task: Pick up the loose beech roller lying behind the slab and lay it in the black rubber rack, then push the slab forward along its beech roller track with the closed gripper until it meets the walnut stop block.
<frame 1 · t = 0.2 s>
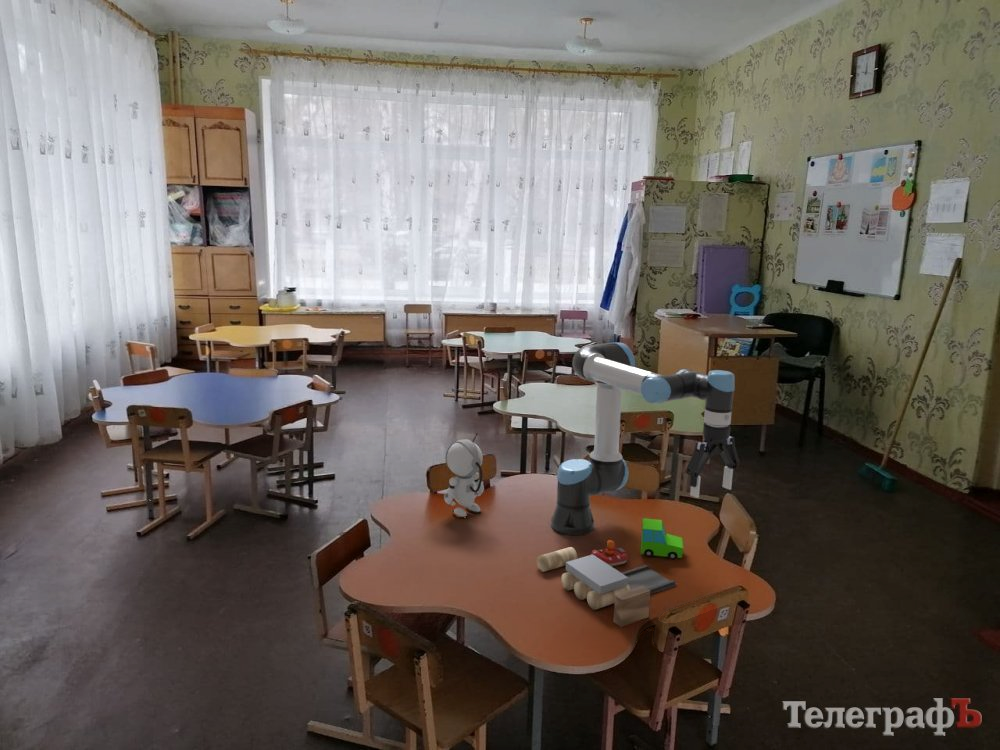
hand: (710, 492, 211), 28 cm above the table, fingers open, 13 cm apart
track: (631, 619, 193), on the table
slab: (596, 573, 205), point 6 cm above the table, slide at 0.0 cm
robot: (466, 513, 260), on the table
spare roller: (556, 566, 222), on the table
toy boat: (608, 563, 225), on the table
toy car: (661, 554, 232), on the table
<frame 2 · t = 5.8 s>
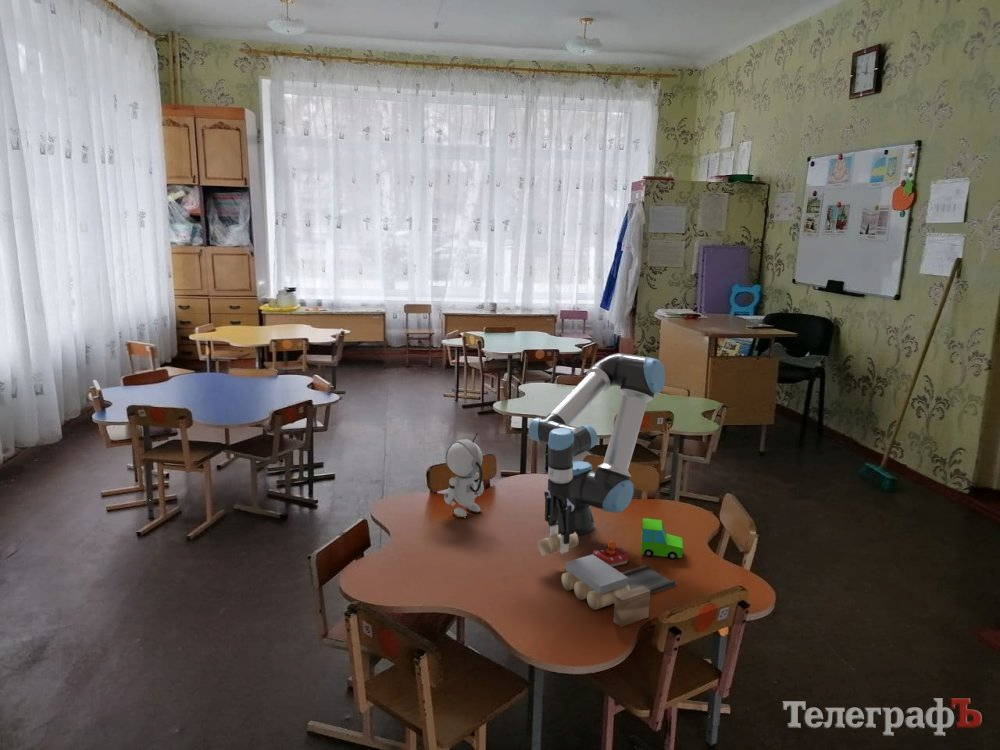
hand: (559, 548, 221), 6 cm above the table, fingers closed on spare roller, 5 cm apart
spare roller: (558, 550, 221), point 5 cm above the table, touching gripper
everything else where it was.
when the fingers open (1 cm above the table, at t = 9.4 s): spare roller stays where it is, resting on track.
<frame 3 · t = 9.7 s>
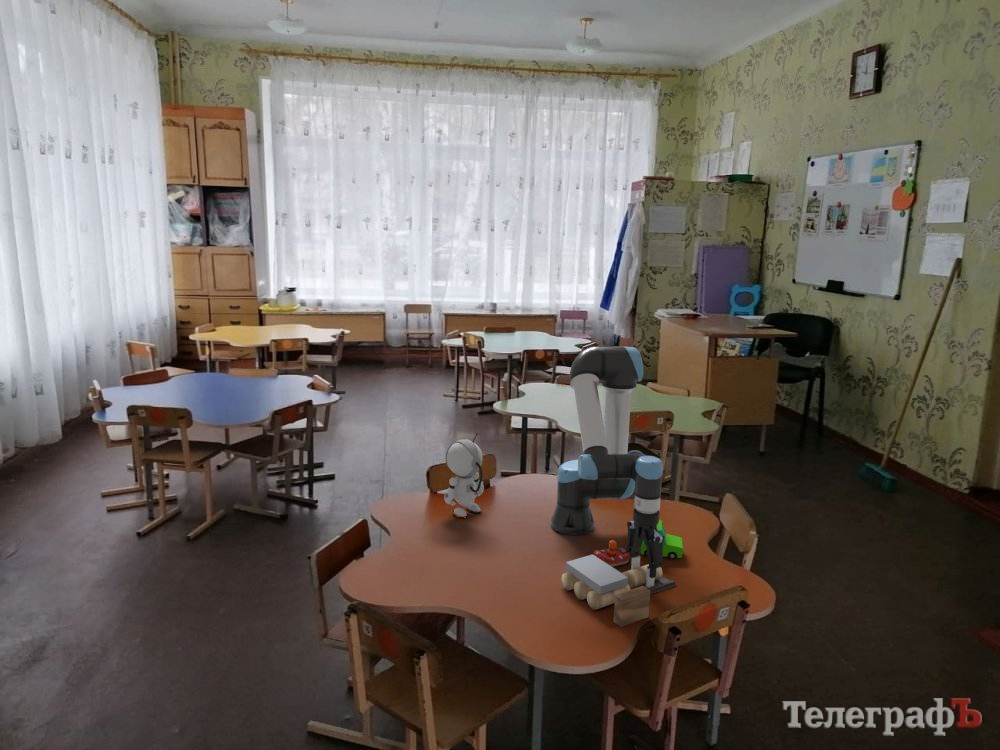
hand: (642, 581, 212), 1 cm above the table, fingers open, 6 cm apart
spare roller: (640, 582, 212), resting on track, tilted 14°
everything else where it was.
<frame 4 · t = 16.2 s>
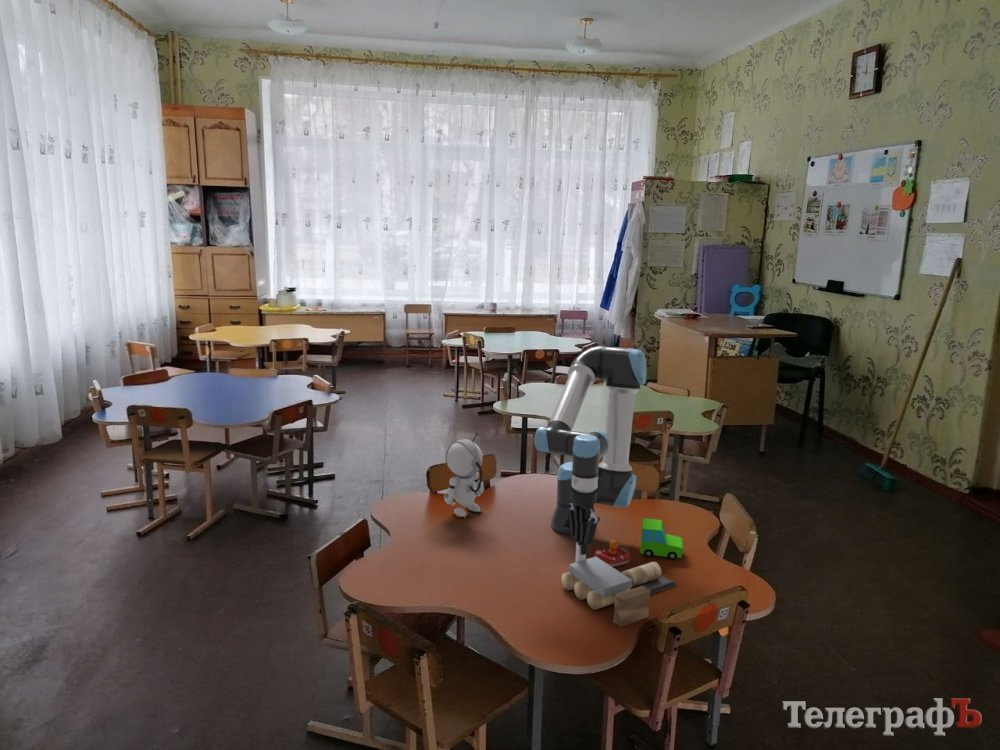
hand: (580, 562, 211), 7 cm above the table, fingers closed
slab: (599, 575, 204), point 6 cm above the table, slide at 1.6 cm, touching gripper
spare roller: (640, 582, 212), resting on track
everything else where it was.
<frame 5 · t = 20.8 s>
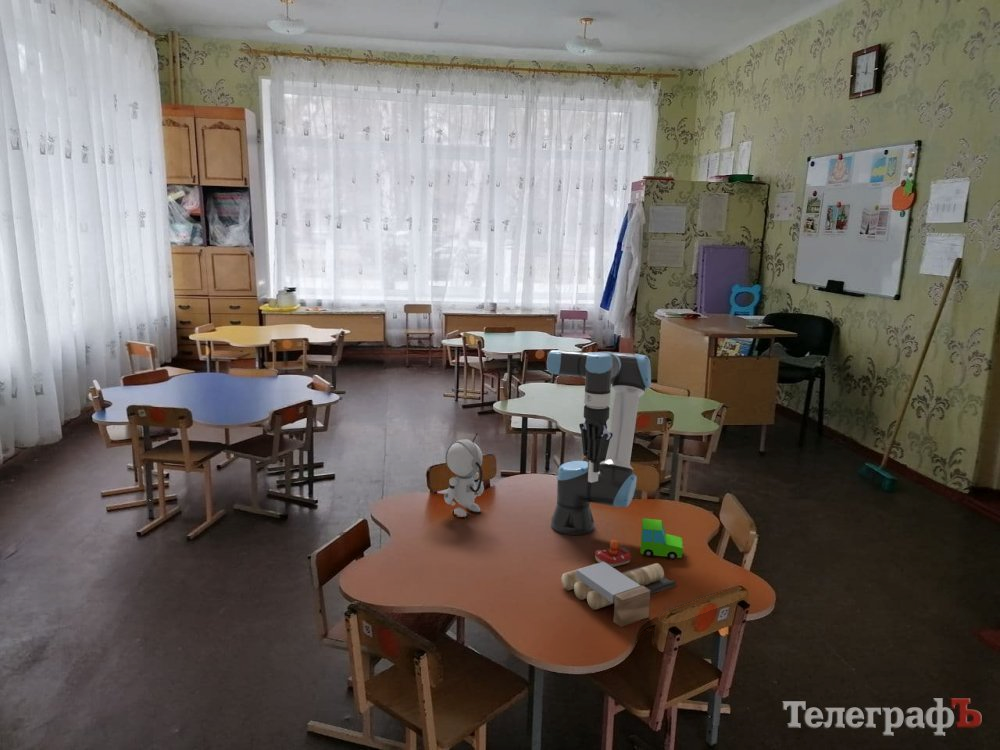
hand: (592, 481, 213), 29 cm above the table, fingers closed
slab: (607, 581, 201), point 6 cm above the table, slide at 5.2 cm
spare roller: (640, 581, 212), point 1 cm above the table, tilted 26°, touching track
at the end: slab slide at 5.2 cm; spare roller inside the target area on the track (0.6 cm from its centre), point 0.6 cm above the track's base; the gripper is holding nothing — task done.
